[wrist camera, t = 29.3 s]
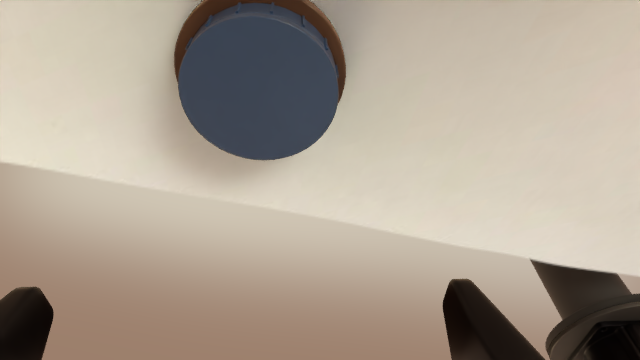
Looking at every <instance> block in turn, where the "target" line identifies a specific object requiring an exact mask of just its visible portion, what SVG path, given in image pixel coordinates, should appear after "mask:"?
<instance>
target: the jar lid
mask: <svg viewBox="0 0 640 360" xmlns="http://www.w3.org/2000/svg"><path fill="white" fill-rule="evenodd" d="M185 50H187V51H186V53H185V55H184V57H183V60H182V63H181V66H180V70H179V76H178V89H179V96H180V100H181V103H182V107H183V109H184V111H185V113H186V115H187V117H188V119H189V120H190V122H191V124H192V125H193V126H194V127H195V129H196V130H197V131H198V132H199V133H200V134H201V135H202V136H203V137H204V138H205V139H206V140H208V141H209V142H210V143H211V144H213V145H215V146H216V147H218V148H219V149H221V150H223V151H225V152H227V153H230V154H233V155H235V156H239V157H243V158H247V159H253V160H275V159H281V158H285V157H289V156H292V155H294V154H297V153H299V152H301V151H303V150H305V149H307V148H308V147H310V146H311V145H312V144H314V143H315V142H316V141H317V140H318V139H319V138H320V137H321V136H322V135H323V134H324V133H325V131H326V130H327V129H328V127H329V125H330V124H331V122H332V120H333V118H334V115H335V113H336V109H337V105H338V97H339V92H338V81H337V78H339V74H338V68H337V65H335V62H334V59H333V56H332V53H331V50H330V48H329V46H328V43H327V39H326V37H325V38H323V36H322V35H321V34H320V33H319V31H318V30H317V29H316V28H315V27H314V26H313V25H312V24H311V23H309V22H308V21H307V20H306V19H305V16H304V15H302V17H301V16H300V15H298V14H296V13H294V12H292V11H290V10H288V9H286V8H283V7H280V6H276V5H274V3H273V2H272V3H271V4H265V3H246V4H241V2H239V3H238V5H236V6H233V7H230V8H227V9H224V10H223V11H221V12H219V13H217V14H215V15H214V16H212V15H210V16H209V18H208V20H207V21H206V22H205V23H204V24H203V25H202V26H201V27H200V29H199V30H198V31H197V33H196V34H195V36H194V38H192V37H191V38H190V40H189V42H188V44H187V46H186V48H185Z"/></svg>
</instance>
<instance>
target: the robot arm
mask: <svg viewBox="0 0 640 360" xmlns="http://www.w3.org/2000/svg"><path fill="white" fill-rule="evenodd" d="M443 312H444V318H445V324H446V330H447V335H448V341H449V347H450V352H451V358H452V360H545V359H544V358H543V357H542V356H541V355H540V353H539V352H538V351H537V350H536V349H535V348H534V347H533V346H532V345H531V344H530V343H529V342H528V341H527V340H526V338H525V337H524V336H523V335H522V334H521V333H520V332H519V331H518V330H517V329H516V328H515V327H514V326H513V325H512V324H511V323H510V322H509V320H508V319H507V318H506V317H505V316H504V315H503V314H502V313H501V312H500V311H499V310H498V309H497V308H496V307H495V305H494V304H493V303H492V302H491V301H490V300H489V299H488V298H487V297H486V296H485V295H484V294H483V293H482V292H481V291H480V289H479V288H478V287H477V286H476V285H475V284H474V283H473V282H472V281H471V280H469V279H452V280H451V281H450V283H449V285H448V288H447V291H446V294H445V297H444V300H443ZM52 321H53V309H52V306H51V305H50V303H49V302H48V300H47V299H46V297H45V296H44V294H43V293H42V291H41V290H40V289H39V288H37V287H19V288H16V289H14V290H13V291H11V292H10V293H9V294H7V295H6V296H5V297H4V298H2V299H1V300H0V360H42V356H43V353H44V349H45V345H46V342H47V338H48V335H49V331H50V328H51V324H52ZM568 360H640V320H637V321H601V322H598V323H596V324H595V325H594V326H593V327H592V329H591V330H590V331H589V332H588V334H587V335H586V336H585V338H584V339H583V340H582V341H581V343H580V344H579V345H578V347H577V348H576V349H575V351H574V352H573V353H572V354H571V356H570V357H569V358H568Z"/></svg>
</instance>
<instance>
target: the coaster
mask: <svg viewBox="0 0 640 360" xmlns="http://www.w3.org/2000/svg"><path fill="white" fill-rule="evenodd" d="M239 2H241V4H246V3H265V4H271V3H272V2H273V3H274V5H276V6H280V7H283V8H286V9H288V10H290V11H292V12H294V13H296V14H298V15H300V16H301V17H302V15H304V16H305V19H306V20H307V21H308V22H309V23H311V24H312V25H313V26H314V27H315V28H316V29H317V30H318V31H319V33H320V34H321V35H322V36H323V38H325V37H326V39H327V43H328V46H329V48H330V50H331V53H332V56H333V59H334V62H335V65H337V68H338V74H339V78H337V81H338V92H339V97H338V103H339V101H340V98H341V96H342V93H343V89H344V85H345V78H346V65H345V58H344V52H343V49H342V45H341V42H340V39H339V37H338V35H337V32H336V30H335V29H334V27H333V25H332V24H331V22H330V21H329V19H328V18H327V17H326V16H325V15H324V13H323V12H322V11H321V10H320V9H319V8H318V7H317V6H315V5H314V4H313V3H312V2H310V1H309V0H204V1H202V2H201V3H200V4H199V5H198V6H197V7H196V8H195V9H194V10H193V11H192V13H191V14H190V16H189V17H188V18H187V20H186V22H185V23H184V25H183V27H182V29H181V31H180V33H179V36H178V39H177V42H176V48H175V54H174V66H175V74H176V78H177V82H178V76H179V70H180V66H181V63H182V60H183V57H184V55H185V53H186V51H187V50H185V48H186V46H187V44H188V42H189V40H190V38H191V37H192V38H194V36H195V34H196V33H197V31H198V30H199V29H200V27H201V26H202V25H203V24H204V23H205V22H206V21H207V20H208V18H209V16H210V15H212V16H214V15H215V14H217V13H219V12H221V11H223V10H224V9H227V8H230V7H233V6H236V5H238V3H239Z"/></svg>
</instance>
